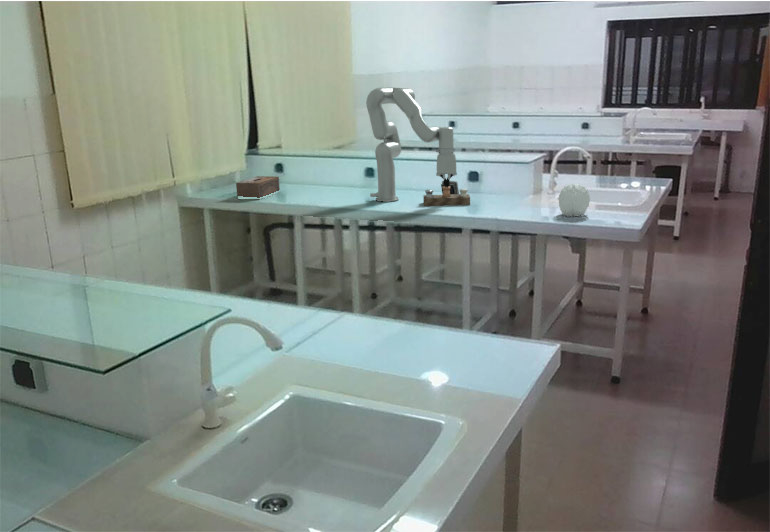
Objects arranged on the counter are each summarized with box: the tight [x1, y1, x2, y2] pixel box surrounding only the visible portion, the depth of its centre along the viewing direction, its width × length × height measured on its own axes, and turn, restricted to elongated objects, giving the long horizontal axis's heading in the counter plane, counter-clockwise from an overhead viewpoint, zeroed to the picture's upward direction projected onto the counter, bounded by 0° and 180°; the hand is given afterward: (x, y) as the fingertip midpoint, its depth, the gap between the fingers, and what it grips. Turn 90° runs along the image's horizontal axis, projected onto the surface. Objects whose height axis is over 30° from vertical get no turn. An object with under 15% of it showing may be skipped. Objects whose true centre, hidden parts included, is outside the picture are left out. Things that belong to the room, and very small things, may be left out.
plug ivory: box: [459, 188, 469, 197], centre depth 343 cm, size 4×4×7 cm
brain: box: [557, 183, 591, 217], centre depth 307 cm, size 14×18×18 cm
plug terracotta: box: [441, 186, 450, 197], centre depth 343 cm, size 4×4×7 cm
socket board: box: [423, 193, 471, 207], centre depth 344 cm, size 24×10×4 cm, turn 88°
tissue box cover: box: [235, 175, 281, 198], centre depth 387 cm, size 26×14×10 cm, turn 163°
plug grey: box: [425, 189, 434, 197], centre depth 344 cm, size 4×4×7 cm
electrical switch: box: [440, 180, 460, 195], centre depth 362 cm, size 9×5×9 cm, turn 57°
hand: (446, 186), depth 342 cm, fingers closed
